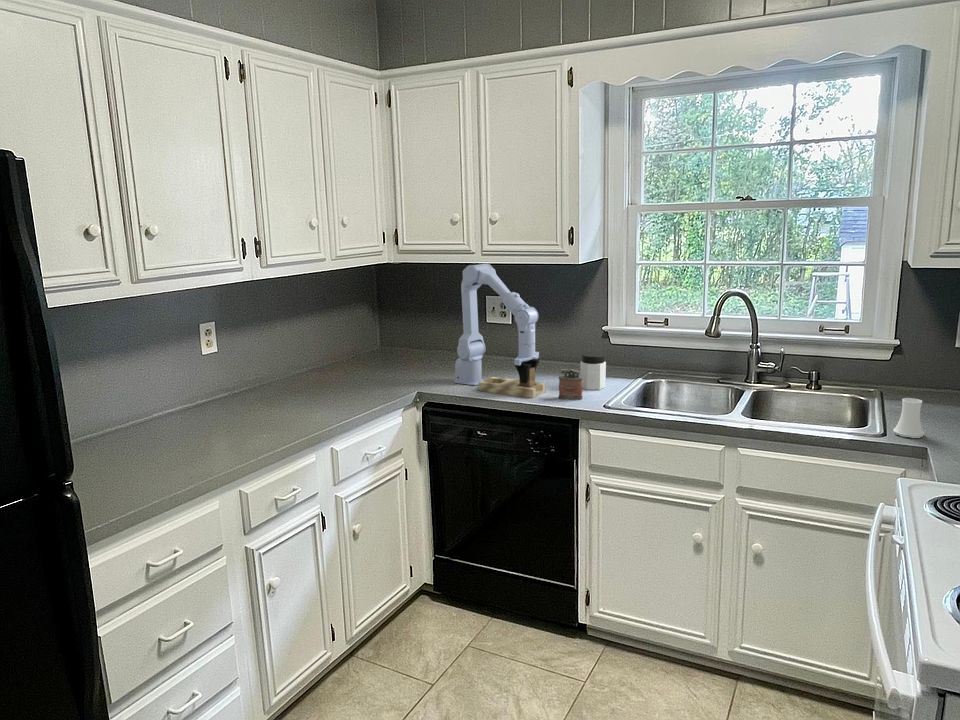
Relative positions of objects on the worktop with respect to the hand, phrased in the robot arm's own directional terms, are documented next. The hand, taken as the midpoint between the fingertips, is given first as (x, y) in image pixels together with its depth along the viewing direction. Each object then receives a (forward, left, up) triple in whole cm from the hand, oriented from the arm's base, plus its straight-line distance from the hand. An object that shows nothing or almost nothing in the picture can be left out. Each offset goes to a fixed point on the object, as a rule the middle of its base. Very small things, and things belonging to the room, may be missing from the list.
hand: (527, 381), depth 255 cm
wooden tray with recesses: (-6, 0, -4) cm, 7 cm away
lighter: (+16, +1, -4) cm, 17 cm away
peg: (0, 0, -3) cm, 3 cm away
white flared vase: (+115, +10, -4) cm, 116 cm away
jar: (+17, +18, -4) cm, 25 cm away
